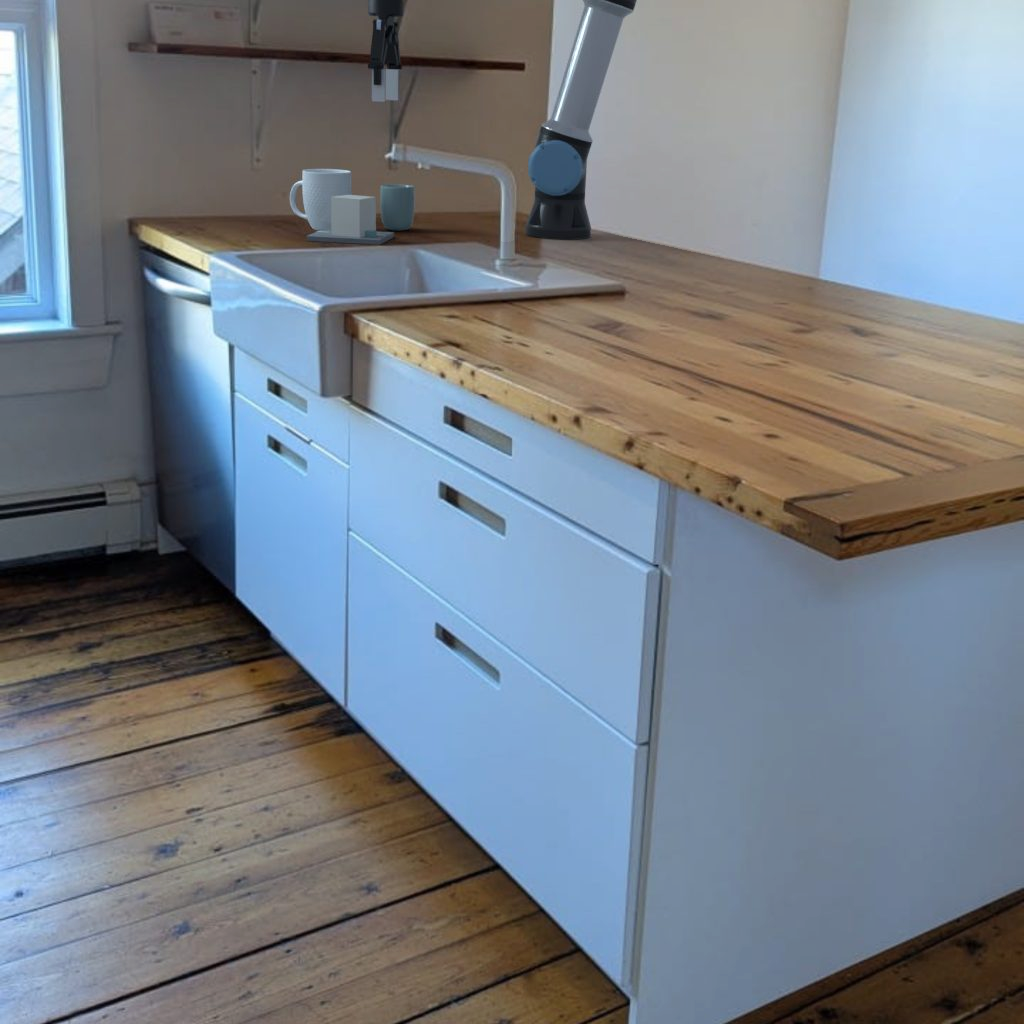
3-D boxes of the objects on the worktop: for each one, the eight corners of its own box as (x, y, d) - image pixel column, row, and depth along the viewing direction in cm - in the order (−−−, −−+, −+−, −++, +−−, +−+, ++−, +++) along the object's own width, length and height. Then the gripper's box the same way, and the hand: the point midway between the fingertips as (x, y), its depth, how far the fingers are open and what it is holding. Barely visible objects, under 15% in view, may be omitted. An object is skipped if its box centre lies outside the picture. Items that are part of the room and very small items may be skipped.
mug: (279, 228, 299) (277, 169, 295) (302, 224, 309) (301, 166, 305) (338, 233, 295) (337, 173, 290) (360, 229, 304) (359, 170, 300)
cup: (375, 230, 303) (375, 185, 300) (388, 227, 310) (388, 183, 307) (406, 232, 301) (407, 188, 298) (418, 229, 308) (419, 185, 305)
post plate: (393, 236, 293) (394, 204, 291) (379, 244, 280) (380, 211, 278) (323, 233, 295) (323, 201, 292) (306, 240, 282) (306, 207, 279)
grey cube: (342, 231, 291) (342, 194, 289) (381, 234, 288) (381, 197, 285) (325, 234, 285) (325, 196, 283) (365, 238, 282) (365, 199, 279)
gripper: (381, -1, 293) (381, 98, 300) (354, -8, 270) (354, 101, 276) (414, 0, 292) (413, 100, 299) (390, -6, 269) (389, 102, 276)
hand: (385, 101), depth 288 cm, fingers open, 13 cm apart
